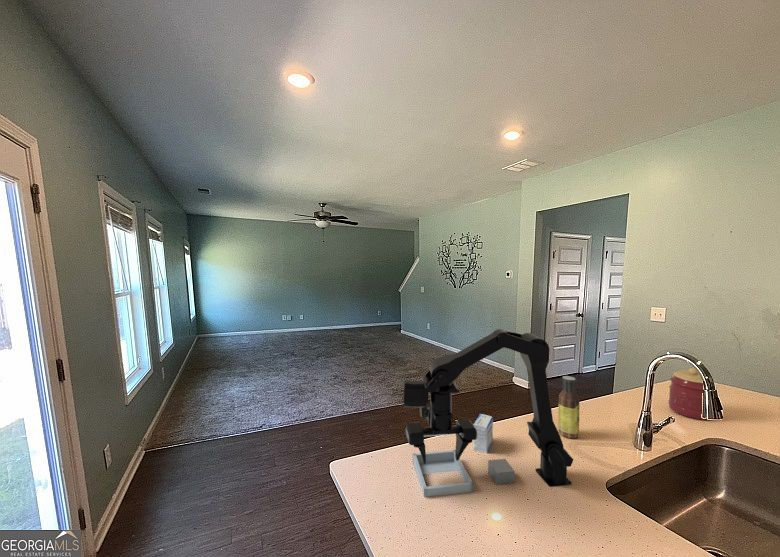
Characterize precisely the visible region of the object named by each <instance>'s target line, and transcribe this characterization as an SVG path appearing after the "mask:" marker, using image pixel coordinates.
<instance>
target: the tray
mask: <svg viewBox="0 0 780 557" xmlns="http://www.w3.org/2000/svg"><path fill="white" fill-rule="evenodd" d="M455 450H456V449H452V450H451V449H450V450H448V449H447V450H440V451H439V450H438V451H437V450H436V451H428V452H427V451H426V464H424V462H423V459H422V456H421V452H417V453H416V452H415V453H412V465H413V469H414V471H415V474H416V477H417V481H418V483H419V486H420V489H421V492H422V496H423V497H424V498H428V497H437V496H445V495H447V496H448V495H455V494H457V495H458V494H464V493H473V492H474V488H475V486H474V484H475V483H474V482H473V480H472V478H471V476H470V475H469V473H468V471H467V469H466V468H465V465H464V463H463V462H462V460H461V457H460V458H459V460H458V461H457V460H456V457H455ZM451 472H452V473H453V472H459V474H460V475H461V478H462V479H463V482H459V483H449V484H440V485H429V486H427V485H426V482H425V478H424V475H432V474H440V473H451Z"/></svg>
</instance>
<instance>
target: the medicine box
mask: <svg viewBox="0 0 780 557" xmlns="http://www.w3.org/2000/svg"><path fill="white" fill-rule="evenodd" d="M473 425H474V427H475V428H476V430H477V439H476V440H472V443H473V444H472V445H473V447H472V448H473V451H476V452H481V453H484V454H488V452H489V450H490V447H492V446H491V445H492V444H493V440H494V438H493V437H494V435H493V433H494V432H493V431H494V427H493V426H494V417H493V416H491V415H487V414H484V413H483V414H482V413H479V415H478V417H477V419H476V420H475V422H474V423H473Z"/></svg>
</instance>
